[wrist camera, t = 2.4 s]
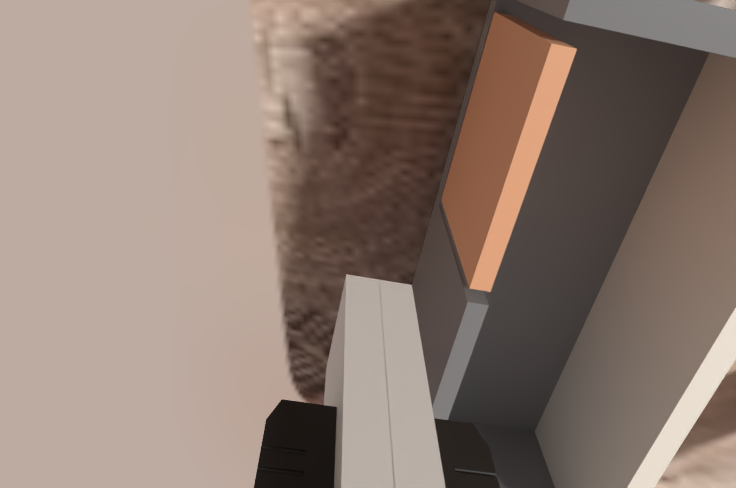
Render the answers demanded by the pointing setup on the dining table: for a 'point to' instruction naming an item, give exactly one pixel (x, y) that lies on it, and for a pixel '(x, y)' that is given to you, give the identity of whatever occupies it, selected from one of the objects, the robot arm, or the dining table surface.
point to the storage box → (600, 256)
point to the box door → (502, 141)
